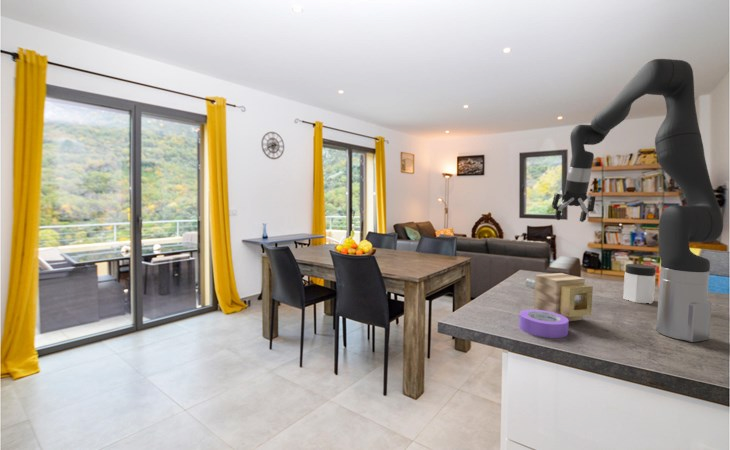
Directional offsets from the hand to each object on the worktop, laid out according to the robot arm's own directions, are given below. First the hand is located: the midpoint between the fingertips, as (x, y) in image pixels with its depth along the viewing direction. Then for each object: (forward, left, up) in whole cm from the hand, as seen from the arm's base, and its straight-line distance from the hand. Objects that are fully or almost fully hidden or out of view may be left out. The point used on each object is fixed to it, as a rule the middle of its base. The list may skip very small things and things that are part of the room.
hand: (569, 220), depth 138 cm
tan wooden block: (-28, +33, -27) cm, 50 cm away
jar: (-22, -8, -27) cm, 35 cm away
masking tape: (-35, +45, -27) cm, 63 cm away
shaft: (-25, +33, -21) cm, 46 cm away
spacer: (-34, +33, -24) cm, 53 cm away
